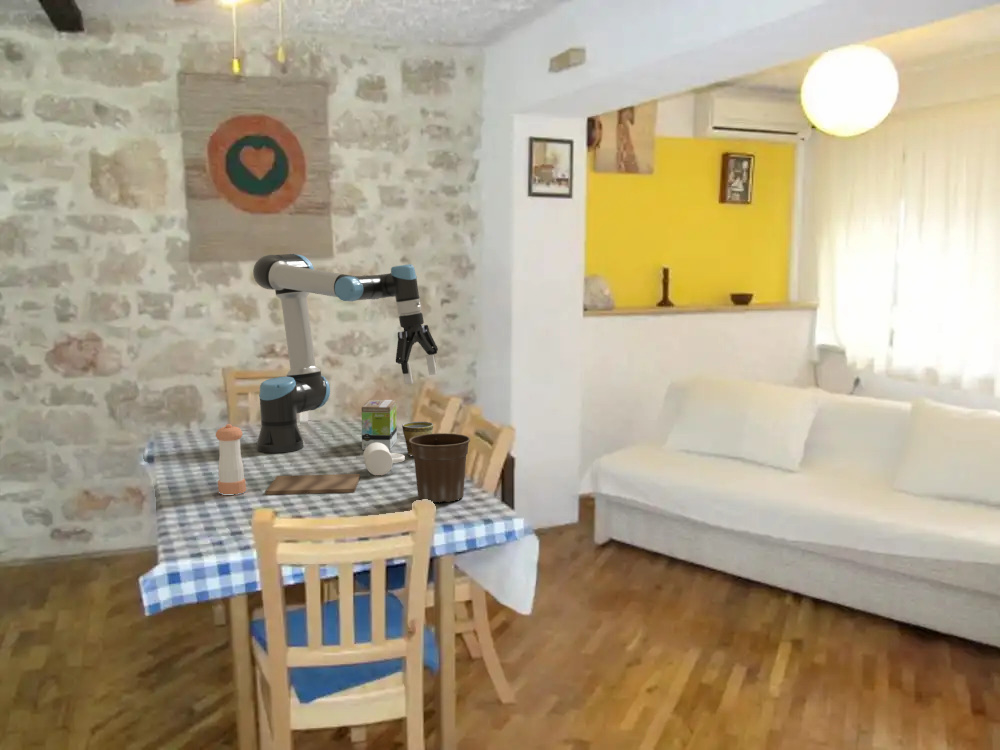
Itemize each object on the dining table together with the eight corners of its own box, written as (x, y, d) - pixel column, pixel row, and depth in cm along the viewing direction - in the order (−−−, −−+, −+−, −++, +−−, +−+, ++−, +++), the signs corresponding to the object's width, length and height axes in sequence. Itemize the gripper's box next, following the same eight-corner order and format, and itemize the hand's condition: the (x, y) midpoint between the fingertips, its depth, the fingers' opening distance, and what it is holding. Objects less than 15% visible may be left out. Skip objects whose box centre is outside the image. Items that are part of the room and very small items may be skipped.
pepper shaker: (250, 489, 247) (246, 421, 244) (239, 496, 240) (236, 427, 237) (224, 488, 248) (221, 421, 245) (214, 495, 241) (210, 426, 238)
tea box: (391, 450, 293) (390, 406, 290) (361, 450, 293) (359, 406, 291) (397, 440, 307) (396, 398, 305) (368, 440, 308) (367, 398, 306)
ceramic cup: (433, 458, 281) (433, 427, 280) (402, 458, 281) (401, 428, 279) (434, 448, 294) (433, 419, 293) (403, 449, 293) (403, 420, 292)
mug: (366, 476, 260) (365, 450, 258) (363, 468, 269) (362, 443, 268) (406, 474, 262) (406, 447, 261) (403, 466, 272) (402, 440, 271)
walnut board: (266, 494, 242) (265, 490, 241) (277, 479, 257) (276, 475, 257) (354, 492, 243) (354, 488, 243) (360, 477, 259) (359, 473, 259)
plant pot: (428, 486, 248) (426, 430, 245) (480, 492, 242) (480, 434, 239) (399, 502, 233) (398, 442, 231) (455, 509, 227) (454, 447, 224)
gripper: (396, 318, 268) (408, 386, 271) (441, 306, 289) (451, 370, 292) (377, 320, 272) (388, 387, 275) (422, 308, 293) (433, 371, 296)
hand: (421, 378), depth 283 cm, fingers open, 13 cm apart
